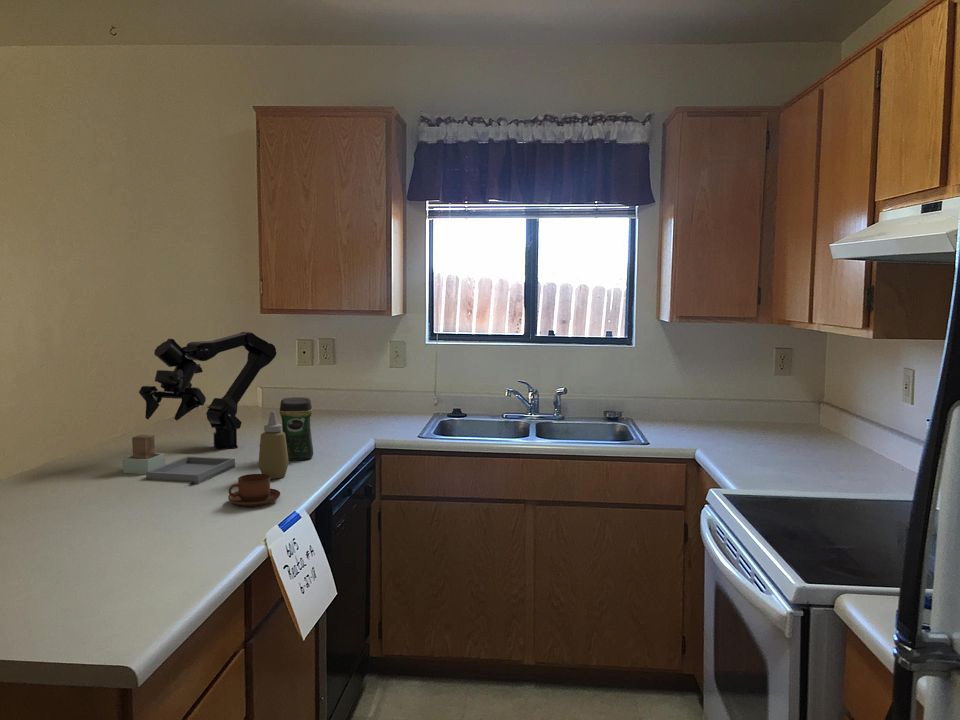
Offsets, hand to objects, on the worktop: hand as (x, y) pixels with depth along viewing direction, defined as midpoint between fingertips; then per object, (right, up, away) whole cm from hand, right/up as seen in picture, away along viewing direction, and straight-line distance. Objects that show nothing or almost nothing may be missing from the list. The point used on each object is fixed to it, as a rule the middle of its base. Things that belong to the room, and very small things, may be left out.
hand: (161, 419), depth 208 cm
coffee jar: (+36, -13, +11) cm, 40 cm away
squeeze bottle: (+36, -15, -11) cm, 40 cm away
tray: (+12, -14, -8) cm, 21 cm away
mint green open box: (-1, -14, -7) cm, 16 cm away
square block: (-1, -14, -7) cm, 15 cm away
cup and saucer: (+38, -18, -34) cm, 54 cm away
